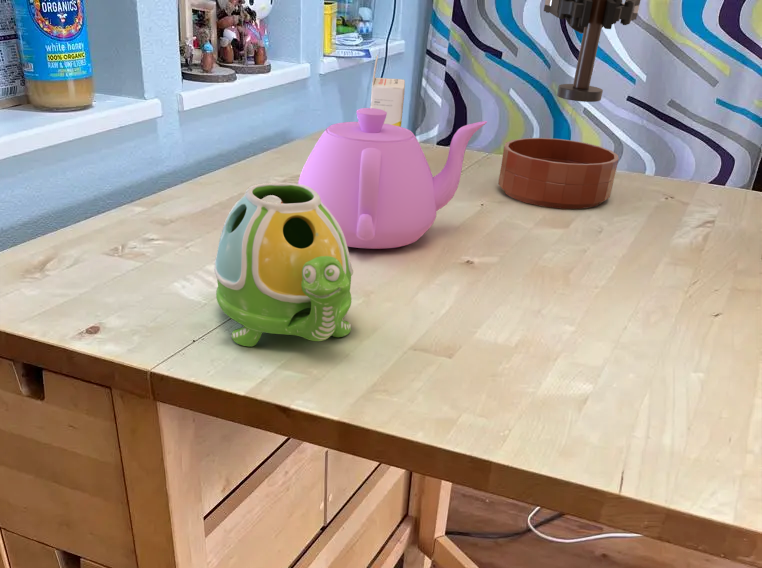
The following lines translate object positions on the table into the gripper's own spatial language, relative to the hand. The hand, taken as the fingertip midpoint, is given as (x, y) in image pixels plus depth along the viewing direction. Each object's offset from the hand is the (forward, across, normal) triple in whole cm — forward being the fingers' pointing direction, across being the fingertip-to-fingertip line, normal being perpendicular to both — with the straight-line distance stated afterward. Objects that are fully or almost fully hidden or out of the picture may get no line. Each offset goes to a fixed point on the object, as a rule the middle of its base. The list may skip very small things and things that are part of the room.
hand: (598, 15), depth 100 cm
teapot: (+22, +22, -23) cm, 39 cm away
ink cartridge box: (-13, +27, -23) cm, 38 cm away
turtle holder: (+53, +26, -23) cm, 64 cm away
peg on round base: (-6, 0, -10) cm, 11 cm away
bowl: (-6, +1, -23) cm, 24 cm away
